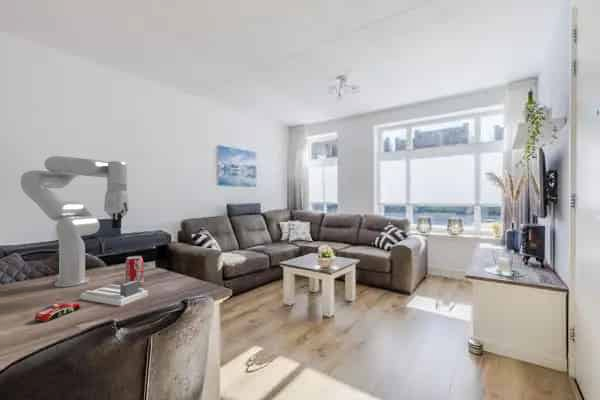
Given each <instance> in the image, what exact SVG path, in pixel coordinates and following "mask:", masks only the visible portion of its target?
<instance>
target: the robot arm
mask: <svg viewBox="0 0 600 400" xmlns="http://www.w3.org/2000/svg"><path fill="white" fill-rule="evenodd" d="M44 167H45V169H46V170H40V169H39V170H38V169H37V170H36V169H35V170H28V171H25V172H24V173H22V175H21V176H20V186H21V189H22V191H23V192H24V194H25V195H26V196H27V197H28V198H29V199H30V200H31V201H33V202H34V203H35V204H36V205H37V206H38V207H39V208H40V209H41V211H43V213H44V214H45V215H46V216H47V217H48V218H49V219H50V221H51V220H52V221H54V222H57V223H56V224H55V225H56V226H55V229H56V234H57V238H58V251H59V252H58V253H59V255H58V256H59V257H58V260H59V262H58V263H59V264H58V265H59V267H58V270H59V271H58V274H57V275H56V278H57V279H58V281H56V282H54V286H55V287H56V288H57V287H58V288H67V287H69V288H70V287H73V286H74V287H75V286H80V285H84V284H86V283H88V282H90V278H89V277H86V244H85V241H84V240H83V239H82V236H89V235H93V234H95V233H97V232H98V231H99V230H100V226H101V225H100V221H99V219H98V218H97V216H96V215H95V214H94V213H93V212H92V211H91V210H90V209H89V207H87V206H86V205H85V204H84V203H82V202H79V201H66V200H63V199H61V198H60V196H59V195H58V194H56V193H55V191H52V190H50V189H64V188H65V187H67V186H68V185H69V184H70V183H71V182H72V181H73V180H75V179H76V178H77V177H79V176H85V177H93V178H94V177H95V178H105V179H106V181H107V183H106V192H105V195H104V205H103V211H104V213H107V215H108V216H109V217H110V219H111V228H112V229H116V230H117V229H122V220H123V218H124V216H127V213H128V211H129V197H128V191H127V189H128V188H127V187H128V186H127V185H128V184H127V182H128V180H127V179H128V176H127V174H128V173H127V172H128V168H127V167H128V165H127V163H126V162H124V161H118V160H110V161H106V160H105V161H104V160H99V159H98V160H97V159H91V158H81V157H76V156H75V157H73V156H64V155H63V156H62V155H53V156H49V157H47V158H46V159H45V161H44Z"/></svg>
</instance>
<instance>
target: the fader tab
mask: <svg viewBox="0 0 600 400" xmlns="http://www.w3.org/2000/svg"><path fill="white" fill-rule="evenodd" d="M119 285H120V295H122V296H124V297H127V296H130V295H133V294H135V293H138V292H139V288H140V285H139V282H138V281H131V282H128V283H126V282H125V283H122V284H119Z"/></svg>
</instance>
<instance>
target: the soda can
mask: <svg viewBox="0 0 600 400" xmlns="http://www.w3.org/2000/svg"><path fill="white" fill-rule="evenodd" d="M131 281H138V282H139V286H141V285H143V283H144V259H143V256H142V255H134V256H133V255H132V256H128V257H126V259H125V283H128V282H131Z"/></svg>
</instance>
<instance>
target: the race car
mask: <svg viewBox="0 0 600 400" xmlns="http://www.w3.org/2000/svg"><path fill="white" fill-rule="evenodd" d="M80 308H81V305H80V303H79V302H67V303H59V302H58V303H54V304H51V305H49V306H46V307H45V308H42V310H39V311H38V312H36V313H35V316H34V321H35V322H36V321H37V322H49V321H54V320H56V319H58V318H60V317H62V316H65V315H67V314H70V313H73V312H76V311H78V310H79V309H80Z"/></svg>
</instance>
